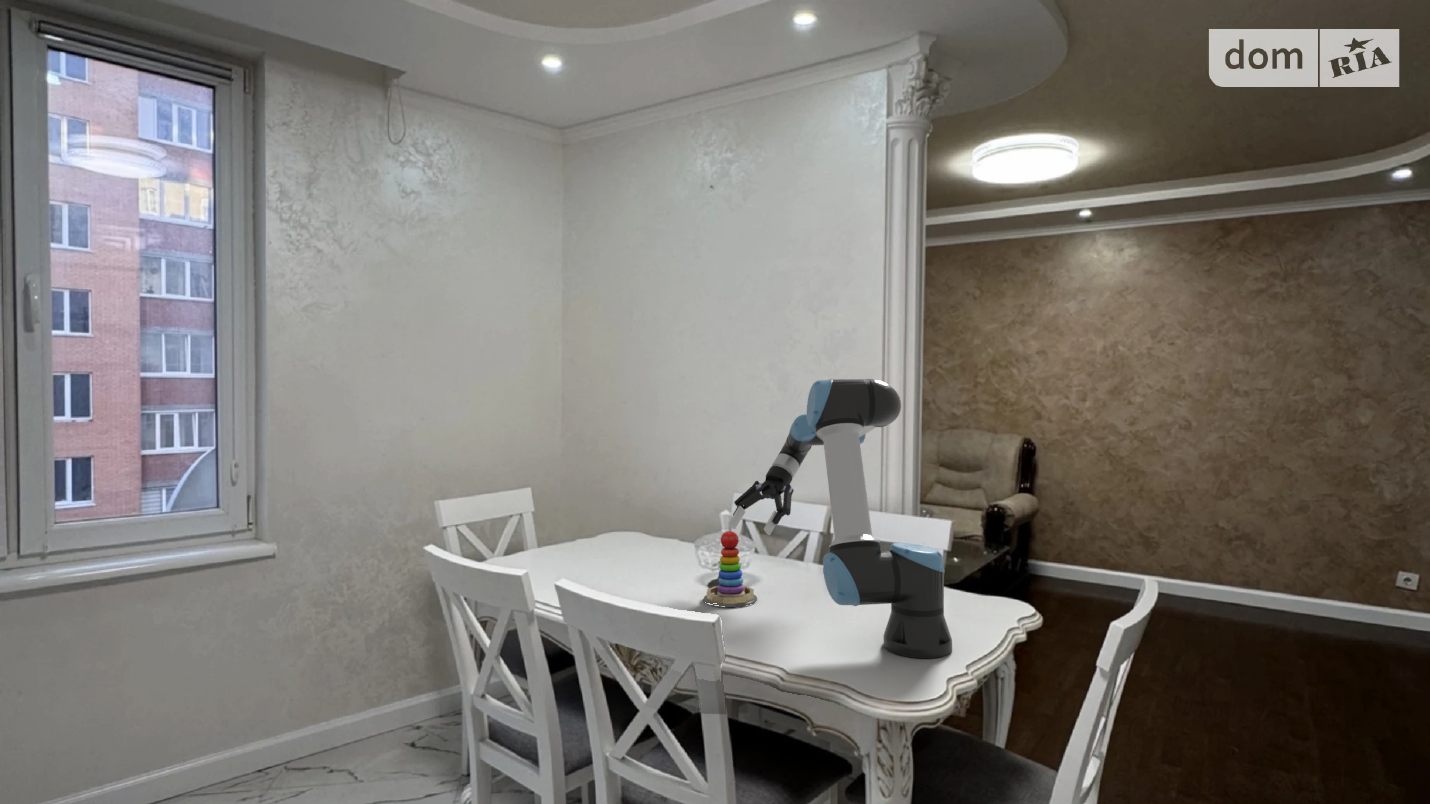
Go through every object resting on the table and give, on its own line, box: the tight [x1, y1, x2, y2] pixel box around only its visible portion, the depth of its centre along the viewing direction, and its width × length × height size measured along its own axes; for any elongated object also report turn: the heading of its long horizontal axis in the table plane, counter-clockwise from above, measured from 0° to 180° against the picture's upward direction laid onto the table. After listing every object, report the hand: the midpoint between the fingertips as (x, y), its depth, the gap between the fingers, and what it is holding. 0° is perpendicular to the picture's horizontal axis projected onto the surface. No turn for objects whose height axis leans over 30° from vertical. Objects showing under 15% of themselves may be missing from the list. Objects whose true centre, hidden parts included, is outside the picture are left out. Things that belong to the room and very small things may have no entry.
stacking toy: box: [716, 530, 745, 596], centre depth 212 cm, size 8×8×19 cm
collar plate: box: [703, 585, 758, 608], centre depth 213 cm, size 15×15×3 cm
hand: (748, 529), depth 218 cm, fingers open, 13 cm apart
